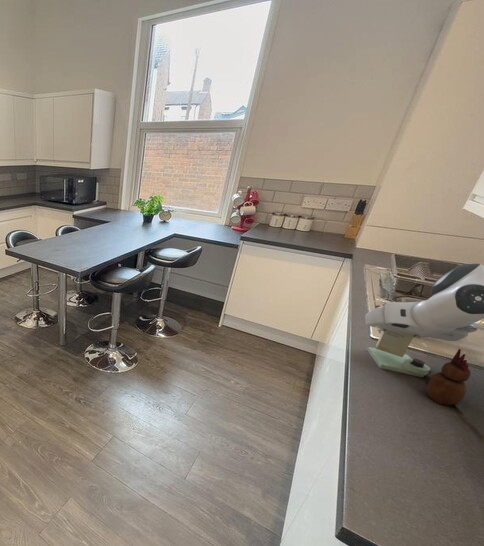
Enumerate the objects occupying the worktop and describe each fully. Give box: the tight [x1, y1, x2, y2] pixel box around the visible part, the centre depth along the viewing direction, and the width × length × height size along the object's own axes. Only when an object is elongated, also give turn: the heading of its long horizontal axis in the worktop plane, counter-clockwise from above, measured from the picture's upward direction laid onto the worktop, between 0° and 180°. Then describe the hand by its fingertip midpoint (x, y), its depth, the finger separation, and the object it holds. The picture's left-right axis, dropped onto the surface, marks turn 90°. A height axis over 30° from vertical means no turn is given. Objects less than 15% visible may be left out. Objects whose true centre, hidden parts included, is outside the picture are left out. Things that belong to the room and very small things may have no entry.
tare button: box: [411, 358, 426, 368], centre depth 92 cm, size 2×2×2 cm
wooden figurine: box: [426, 348, 471, 406], centre depth 80 cm, size 7×6×15 cm
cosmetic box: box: [375, 329, 415, 357], centre depth 95 cm, size 6×4×12 cm
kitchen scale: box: [367, 346, 431, 378], centre depth 96 cm, size 11×11×3 cm
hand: (396, 331), depth 96 cm, fingers closed on cosmetic box, 7 cm apart
